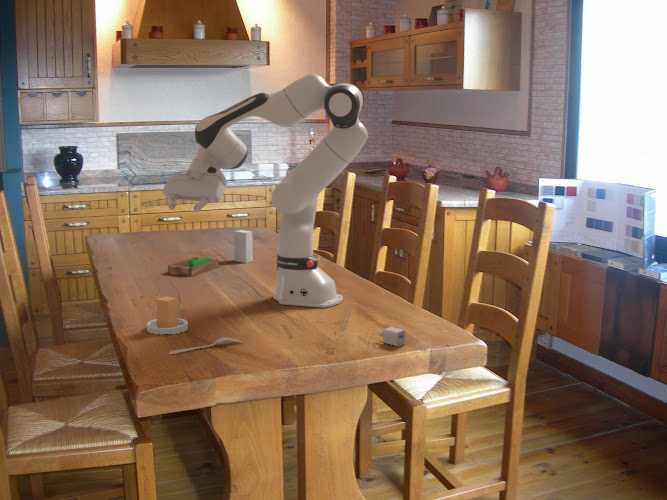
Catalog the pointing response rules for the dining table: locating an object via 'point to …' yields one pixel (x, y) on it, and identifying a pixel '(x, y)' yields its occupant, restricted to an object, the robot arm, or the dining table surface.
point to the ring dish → (180, 328)
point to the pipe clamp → (198, 261)
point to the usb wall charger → (393, 336)
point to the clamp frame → (185, 270)
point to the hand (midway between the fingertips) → (183, 209)
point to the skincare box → (243, 246)
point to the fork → (204, 346)
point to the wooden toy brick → (167, 312)
